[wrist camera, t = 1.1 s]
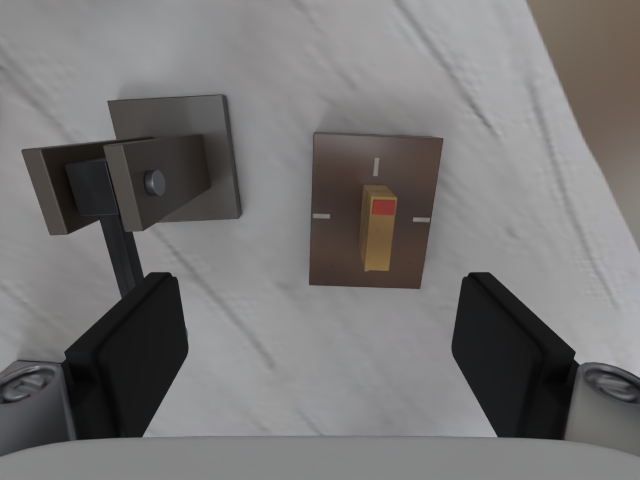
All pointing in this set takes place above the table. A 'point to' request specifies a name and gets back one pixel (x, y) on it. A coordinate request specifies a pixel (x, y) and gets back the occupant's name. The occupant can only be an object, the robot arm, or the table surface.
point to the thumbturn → (376, 227)
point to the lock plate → (346, 201)
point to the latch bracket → (149, 165)
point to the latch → (106, 217)
